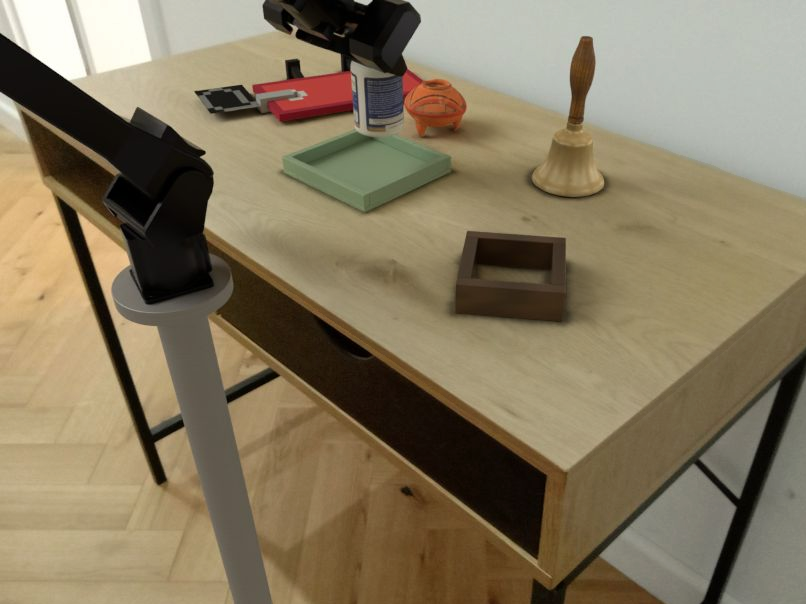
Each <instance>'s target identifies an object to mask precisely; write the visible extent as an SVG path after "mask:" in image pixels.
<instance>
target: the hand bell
mask: <svg viewBox="0 0 806 604" xmlns="http://www.w3.org/2000/svg"><path fill="white" fill-rule="evenodd" d="M596 62H597V61H596V53H595V48H594V38H593V37H592V36H589V35H582V36H581V37H580V39H579V42H578V44H577V47H575V50H574V52H573V55H572V58H571V62H570V66H569V67H570V68H569V87H570V94H571V100H570V106H569V112H568V117H567V122H566V127H565V128H562V129H559V130H557V131H556V132H554V134H553V136H552V139H551V144H550V148H549V151H548V154H547V156H546V158H545V159H544V161H543V162H542V163H541V164H540V165H538V166H537V167H536V169H535V170H534V171H533V173H532V174H531V180H532V183H533V184H534V185H535V186H536V187H537V188H539V189H540V190H541V191H544V192H545V193H549V194H552V195H555V196H561V197H569V198H579V197H580V198H581V197H588V196H591V195H595V194H597V193H599V192H600V191H601V190H602V189H603V188H604V187H605V180H604V176H603V175H602V173H601V172H600V171H599V170H598V168H597V166H596V164H595V163H596V162H595V158H594V137H593V136H592V135H591V134H590V133H589V132H587V131H585V130H584V129H583V125H584V124H583V123H584V121H585V117H584V116H585V111H586V110H585V109H586V101H587V96H588V94H589V92H590V89H591V87H592V85H593V81H594V78H595V72H596Z"/></svg>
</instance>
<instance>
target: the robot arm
mask: <svg viewBox="0 0 806 604" xmlns="http://www.w3.org/2000/svg"><path fill="white" fill-rule="evenodd" d="M261 6H262V7H261V8H262V13H263V19H264V20H265V21H266V22H267V23H268V24H269V25H271V27H273V28H274V29H275V30H276V31H279V32H282V33H284V34H286V35H289V36H291V35H292V34H293V32H294V27H296V28H297V30H296V32H295V34H294V36H295V38H296V39H297V40H300V41H301V42H304V43H306V44H309V45H312V46H315V47H318V48H320V49H322V50H323V49H324V50H327V51H329V52H332V53H336V54H339V55H340V56H341V55H344V56H347V57H350V58H353V59H352V61H353V62H356V63H358V64H361V65H363V66H366V67H368V68H373V69H375V70H378V71H380V72H383V73H390V74H394V75H397V76H400V77H403V76H404V74H405V72H406V71H407V69H408V65H407V63H406V60H405V58H404V55H403V53H404V51H405V49H406V48H407V46H408V44H410V43H409V42H410V41H411V39H412V38H413V36H414V35H415V33H416V31H417V29H418V28H419V26H420V25H421V23H422V18H421V14H420V13H419V12H418V10H417V9H416V8H415V7H414V6H413V5H412V3H411V2H409V1H407V0H371V1H370V2H369V3H368V4H364V3H362V2H358V1H355V0H264V2H263V3H262V5H261ZM0 93H1V94H3V95H4V96H5V97H7V98H9V99H10V100H12V101H13V102H15V103H17V104H18V105H20V106H22V107H23V108H25V109H26V110H28V111H29V112H31V113H32V114H33V115H36V116H37V117H39V119H42V120H43V121H45V122H47V123H48V124H50V125H51V126H53V127H55V128H56V129H58V130H59V131H61V132H62V133H64V134H65V135H67V136H68V137H70V138H71V139H74V140H75V141H77V142H78V143H80V144H82V146H84V147H86V148H88V149H89V150H91V151H92V152H93V153H94V154H95V155H96V156H97V157H98V158H99V159H100V160H101V161H102V162H103V163H104V164H105V165H106V166H107V167H108V168H110V169H111V171H113V172H114V173H115V176H114V178H113V179H112V181H111V182H110V184H109V186H108V187H107V190H106V191H105V193H104V195H103V196H102V198H101V202H102V203H103V204H104V206H105V207H106V208H107V210H108V211H109V212H110V214H111V215H112V216H113V217H115V218H117V219H118V220H120V221H121V222H123V223H120V224H119V225H118V227H119V230H120V234H121V238H122V240H123V244H124V248H125V251H126V254H127V258H128V262H129V265H131V269H130V270H129V272H130V275H131V277H132V279H133V281H134V283H135V285H136V287H137V289H138V291H139V293H140V295H141V297H142V299H143V301H144V303H145V304H147V305H151V304H155V303H158V302H162V301H165V300H169V299H173V298H176V297H180V296H183V295H187V294H190V293H194V292H198V291H201V290H205V289H208V288H211V287H213V286H214V282H213V279H212V278H211V276H210V275H209V272H211V271H212V264H211V260H210V255H209V253H210V251H209V245H208V241H207V237H206V234H205V233H204V231H205V225H206V218H207V210H208V204H209V200H210V198H211V196H212V194H213V191H214V185H215V180H214V174H215V172H214V170H213V168H212V165H210V164H209V163H208V162H207V161H206V160H205V159H204V158H202V157H203V156H205V155H206V154H207V151H206V150H205V149H203V148H201V147H200V146H198V145H196V144H195V143H193V142H191V141H190V140H188V139H187V138H185V137H184V136H181V134H179V133H178V131H176V130H175V128H173V127H172V126H171V125H169V124H168V123H166V122H164V121H162V120H161V119H160V118H158V117H156V116H154V115H153V114H151V113H149V112H148V111H146V110H144V109H143V108H141V107H139V106H136V108H135V110H134V112H133V114H132V116H131V119H130V118H127V117H124V116H122V115H120V114H118V113H115V112H114V111H113V110H112V109H110V108H109V107H107V106H106V105H104V104H102V103H101V102H100V101H98V99H95V98H94V97H93V96H92V95H90V94H88V93H87V92H86V91H84V90H83V89H81V88H80V87H78V86H77V85H75V84H74V83H73V82H71V81H70V80H68V79H67V78H65V77H64V76H63V75H61V74H60V73H58V72H57V70H54V69H53V68H51V67H50V66H48V65H47V64H46V63H44V62H43V61H41V60H40V59H39V58H37V57H35V56H34V55H33V54H31V53H30V52H28V51H27V50H26V49H24V48H23V47H21V46H20V45H19V44H17V43H16V42H14V41H13V40H11V39H10V38H9V37H7V36H6V35H4V34H3V33H1V32H0Z"/></svg>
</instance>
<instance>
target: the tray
mask: <svg viewBox="0 0 806 604" xmlns="http://www.w3.org/2000/svg"><path fill="white" fill-rule="evenodd" d="M281 160H282V168H283V174H285V175H287V176H289V177H291V178H294V179H296V180H297V181H300V182H301V183H304V184H306V185H307V186H309V187H312V188H314V189H316V190H318V191H320V192H322V193H324V194H326V195H329V196H330V197H331V198H334V199H336V200H339V201H341V202H343V203H344V204H346V205H349V206H351V207H352V208H355V209H357V210H359V211H361V212H363V213H366V212H369V211H371V210H374V209H375V208H377V207H380V206H382V205H384V204H386V203H388V202H390V201H393V200H394V199H397V198H399V197H400V196H404V195H405V194H407V193H409V192H412V191H413V190H416V189H418V188H420V187H422V186H424V185H426V184H428V183H431V182H433V181H434V180H437V179H439V178H442V177H444V176H445V175H448V174H450V173H451V172H452V155H449V154H447V153H444V152H442V151H440V150H437V149H434V148H432V147H430V146H427V145H425V144H423V143H419V142H417V141H415V140H412V139H410V138H408V137H405V136H403V135H400V134H399V133H397V134H395V135H392V136H387V137H370V136H366V135H363V134H361V133H359V132H358V131H357V130H356V129H355V128H354V129H351V130H348V131H346V132H344V133H341V134H339V135H336V136H333V137H329V138H328V139H325V140H322V141H320V142H317V143H314V144H312V145H309V146H307V147H304V148H301V149H299V150H296V151H294V152H291V153H288V154H286V155H282V157H281Z"/></svg>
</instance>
